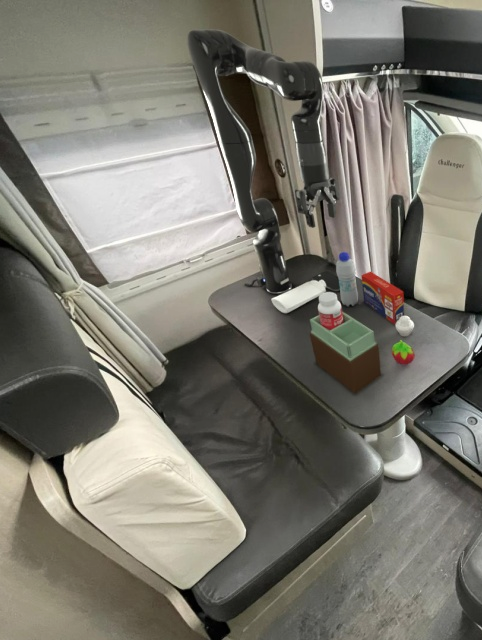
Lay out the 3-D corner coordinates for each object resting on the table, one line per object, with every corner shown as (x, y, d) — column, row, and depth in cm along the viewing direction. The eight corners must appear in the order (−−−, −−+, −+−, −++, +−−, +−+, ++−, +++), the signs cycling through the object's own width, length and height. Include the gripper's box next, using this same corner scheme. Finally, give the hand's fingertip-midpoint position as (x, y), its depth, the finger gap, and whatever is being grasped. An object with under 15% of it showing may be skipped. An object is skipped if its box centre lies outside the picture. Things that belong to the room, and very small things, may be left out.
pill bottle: (338, 338, 99) (332, 305, 92) (318, 334, 100) (311, 300, 93) (348, 325, 103) (343, 292, 96) (328, 321, 105) (322, 288, 97)
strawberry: (403, 376, 106) (402, 350, 100) (388, 362, 111) (386, 337, 104) (418, 367, 109) (418, 342, 102) (403, 354, 113) (402, 329, 107)
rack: (316, 363, 110) (305, 319, 99) (342, 347, 116) (335, 304, 105) (354, 394, 101) (347, 349, 90) (380, 375, 107) (377, 331, 95)
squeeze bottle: (273, 306, 133) (269, 295, 129) (316, 285, 144) (314, 273, 140) (288, 317, 128) (285, 305, 125) (332, 293, 139) (330, 282, 136)
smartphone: (325, 270, 150) (350, 282, 143) (325, 272, 151) (350, 284, 144) (310, 278, 146) (335, 290, 139) (310, 279, 147) (335, 292, 139)
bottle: (356, 309, 132) (350, 258, 118) (338, 307, 133) (330, 256, 119) (361, 299, 136) (356, 249, 123) (344, 297, 137) (337, 247, 124)
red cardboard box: (404, 320, 127) (403, 291, 119) (395, 324, 125) (394, 296, 117) (372, 298, 137) (370, 271, 129) (364, 302, 135) (361, 275, 127)
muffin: (392, 332, 122) (391, 315, 117) (406, 325, 124) (406, 308, 120) (403, 341, 118) (402, 324, 113) (417, 334, 121) (418, 317, 116)
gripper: (320, 152, 100) (329, 211, 111) (281, 164, 91) (295, 227, 102) (341, 156, 97) (348, 216, 108) (302, 169, 88) (314, 233, 99)
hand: (322, 221), depth 105 cm, fingers open, 8 cm apart
